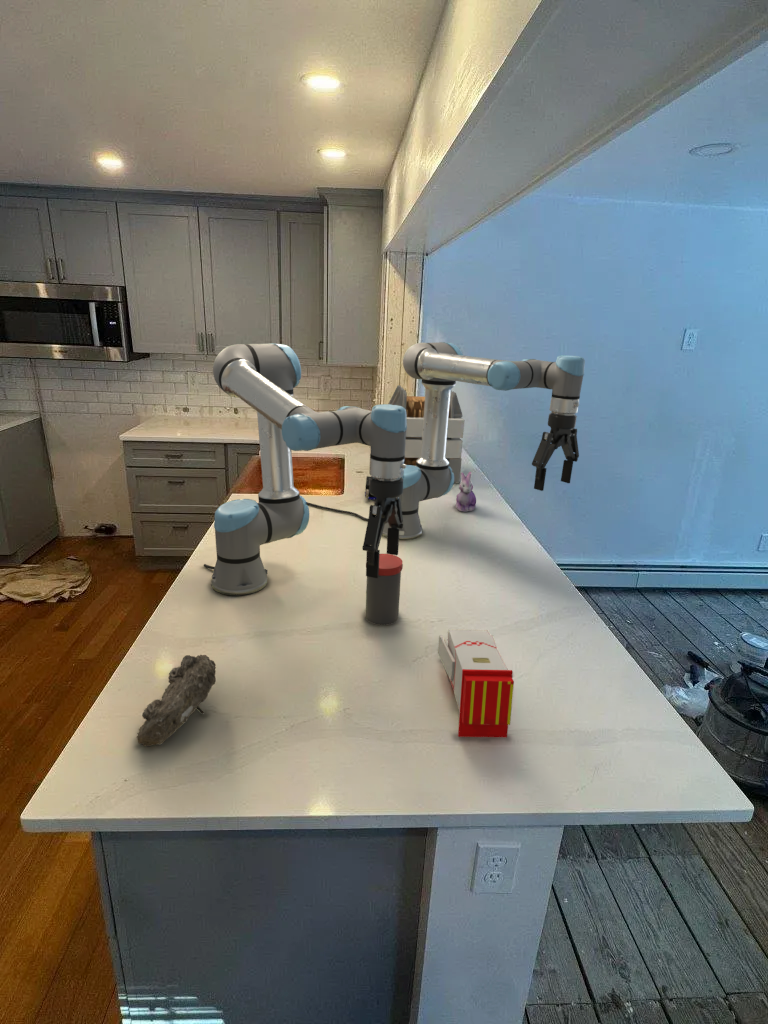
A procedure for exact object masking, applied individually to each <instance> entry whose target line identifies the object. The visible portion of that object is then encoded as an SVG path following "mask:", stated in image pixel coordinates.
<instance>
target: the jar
mask: <svg viewBox="0 0 768 1024" xmlns="http://www.w3.org/2000/svg"><path fill="white" fill-rule="evenodd" d="M401 577H402V571H401V572H400V573H398V574H395V575H390V576H381V575H379V577H378V578H373V577H368V576H366V589H365V619H366V621H368V622H369V623H370V624H373V625H377V626H389V625H393V624H394V623H396V622H397V621H398V620H399V615H400V614H399V611H400V596H401V593H400V592H401Z"/></svg>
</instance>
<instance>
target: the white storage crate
mask: <svg viewBox="0 0 768 1024" xmlns="http://www.w3.org/2000/svg"><path fill="white" fill-rule="evenodd" d="M407 394H408V393H407V390H406V389H404V388H403V387H402V385H399V384H398V385H397V386H396V388H395V390H394V392H393V394H392V395H391V398H390V400H389V402H388V404H391V405H398V406H402V407H403V408H405V410H406V418H407V430H406V441H405V458H404V464H406V465H413V466H416V461H417V459H418V458H420V457H421V449H422V434H423V419H424V404H425V396H415V395H414V396H413V395H412V396H411V395H407ZM464 429H465V419H464V418H463V411H462V408H461V405H460V402H459V398H458V395H457V392H455V391H453V390H451V392H450V404H449V416H448V428H447V441H446V453H445V458H446V459H447V461H448V462H449V466H450V467H451V469H452V473H454V484H455V483H456V484H460V483H461V472H462V461H463V460H462V453H463V442H464V441H463V440H462V439H463V438H464V431H465V430H464Z"/></svg>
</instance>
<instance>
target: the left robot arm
mask: <svg viewBox="0 0 768 1024" xmlns="http://www.w3.org/2000/svg"><path fill="white" fill-rule="evenodd" d="M212 374H213V375H212V376H213V378H214V381H215V383H216V385H217V386H218V387H219V389H221V391H223V392H224V393H225V394H226V395H228V396H230V397H232V398H235V399H238V398H239V399H240V400H241V401H243V402H244V403H245V404H247V405H248V406H249V407H251V408H252V409H253V410H255V411H256V417H257V428H258V442H259V452H260V465H261V479H262V489H261V490H260V491H259V492H258V494H257V499H258V502H257V501H256V500H254V499H250V498H242V499H240V498H238V499H237V498H236V499H233V500H229V501H226V502H224V503H223V504H221V505H219V506H218V507H217V509H216V510H215V511H214V521H213V528H214V535H215V549H216V562H215V564H214V566H213V565H208V564H206V563H204V564H203V567H204V568H207V569H209V570H213V572H212V575H211V588H212V589H213V590H214V591H215V592H217V593H219V594H222V595H226V596H245V595H250V594H254V593H256V592H259V591H261V590H262V589H264V588H265V587H266V586H267V584H268V572H269V571H268V569H266V568H265V566H264V562H263V560H262V558H261V546H263V545H266V544H271V543H273V542H277V541H282V540H284V539H291V538H293V537H295V536H298V535H300V534H302V533H303V532H304V531H305V530H306V529H307V527H308V524H309V521H310V510H309V509H310V508H309V505H307V504H306V503H307V502H308V501H307V499H306V498H305V497H304V496H302V495H300V494H301V493H300V491H299V489H297V488H296V487H295V485H294V469H293V453H292V451H294V452H302V451H304V452H309V451H312V450H317V449H322V448H329V447H338V446H342V445H343V446H344V445H349V444H361V445H365V446H368V447H370V452H369V470H368V471H369V473H368V474H369V477H370V478H369V492H370V494H371V495H373V496H375V497H376V502H375V501H374V504H370V505H369V510H368V513H369V514H368V518H367V519H368V521H367V523H366V529H365V534H364V539H363V545H362V551H365V552H366V561H365V568H366V569H365V577H367V576H368V577H373V578H378V577H379V554H381V553H380V551H381V550H380V549H379V547H380V545H381V544H380V543H381V538H382V537H383V535H382V533H383V529H384V525H385V524H386V523H387V522H388V523H389V526H390V527H391V528H388V534H387V537H386V554H391V555H395V556H398V555H399V545H400V544H399V543H400V540H399V529H398V528H400V529H403V524H400V523H402V522H403V516H402V509H401V501H400V496H401V495H402V493H403V478H402V476H403V475H404V469H405V468H406V464H404V458H405V441H406V430H407V418H406V410H405V408H403V407H402V406H398V405H391V404H387V403H386V404H385V403H383V404H382V403H381V404H375V405H374V406H373V407H372V408H371V410H368V409H364V408H361V407H358V406H355V405H354V406H350V405H344V406H341V407H339V408H338V409H337V410H329V411H320V412H319V411H315V410H314V409H312V408H310V406H307V405H306V404H304V403H303V402H302V401H300V400H299V399H297V398H296V397H295V396H294V388H296V387H297V386H298V385H299V384H300V382H301V381H300V380H301V379H302V367H301V361H300V359H299V357H298V355H297V353H296V352H295V351H294V349H293V348H291V346H288V345H287V344H283V343H273V342H271V343H235V344H231V345H228V346H226V347H224V348H223V349H221V351H220V352H219V353H218V354H217V355H216V357H215V359H214V361H213V365H212ZM398 517H399V518H398Z"/></svg>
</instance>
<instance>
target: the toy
mask: <svg viewBox="0 0 768 1024" xmlns="http://www.w3.org/2000/svg"><path fill="white" fill-rule="evenodd" d="M446 640H447V643H446V641H445V639H444V636H443V635H442V634H439V637H438V646H437V656H438V657H439V659H440V661H441V663H442V666H443V668H444V670H445V672H446V674H447V677H448V679H449V681H450V684H451V687H452V690H453V693H454V697H455V701H456V705H457V708H458V711H459V714H458V715H459V716H458V730H457V731H458V732H457V737H458V738H508V731H509V726H510V725H511V717H512V707H513V697H514V696H513V695H514V684H515V680H514V679H513V673H514V671H513V670H512V669H508V667H507V665H506V662H505V661H504V659H503V658H502V655H501V653H500V651H499V649H498V647H497V643H496V639H495V637H494V635H493V634H491V632H490V631H489V629H467V628H466V629H465V628H463V629H461V628H460V629H459V628H448V630H447V639H446Z"/></svg>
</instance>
